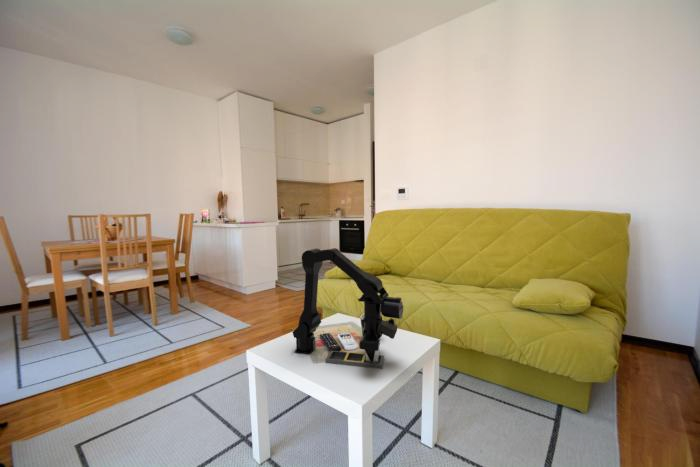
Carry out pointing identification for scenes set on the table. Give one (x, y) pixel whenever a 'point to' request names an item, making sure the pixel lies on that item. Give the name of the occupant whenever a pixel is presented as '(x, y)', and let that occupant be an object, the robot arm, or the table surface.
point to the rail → (352, 359)
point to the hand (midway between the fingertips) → (372, 357)
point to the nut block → (376, 358)
